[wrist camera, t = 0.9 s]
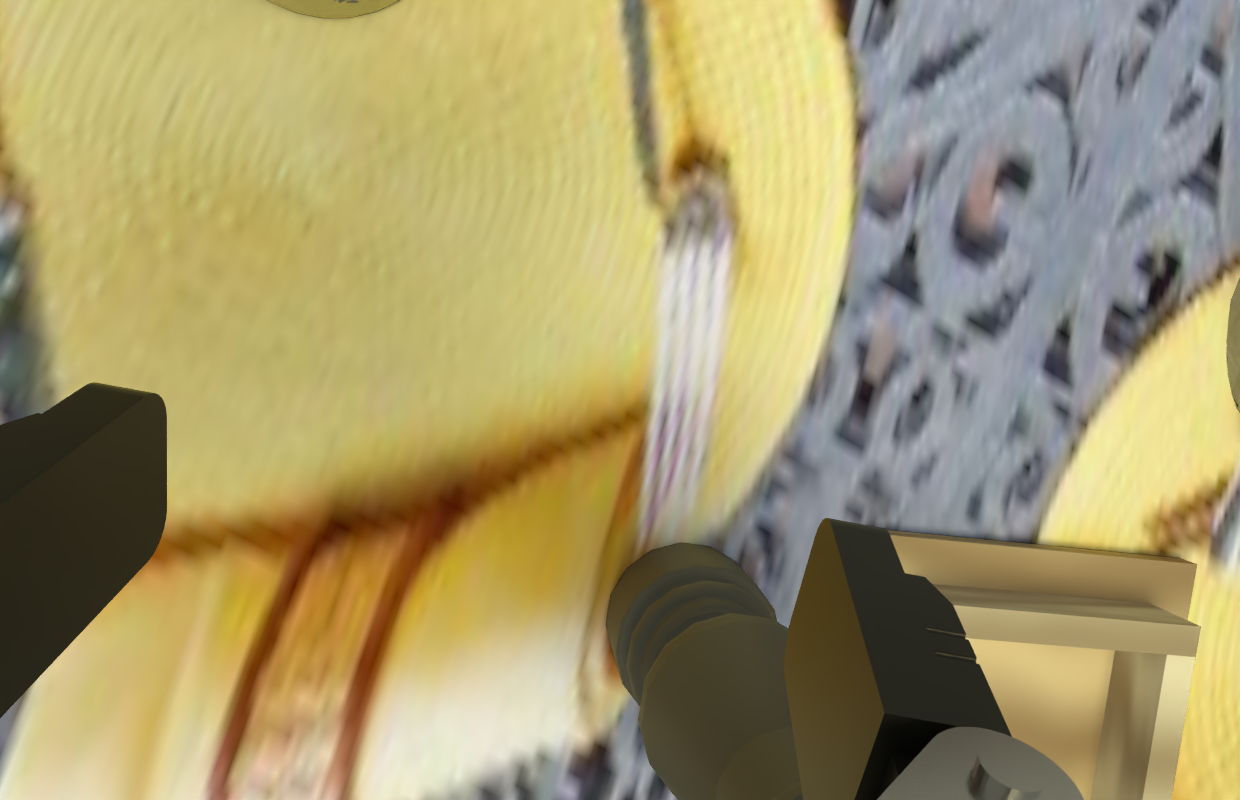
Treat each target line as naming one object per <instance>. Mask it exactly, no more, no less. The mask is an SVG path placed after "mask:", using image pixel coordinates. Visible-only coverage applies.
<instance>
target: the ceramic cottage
mask: <svg viewBox="0 0 1240 800" xmlns="http://www.w3.org/2000/svg"><path fill="white" fill-rule="evenodd" d="M1226 355H1227V357H1228V360H1227V368H1228V377H1229V382H1230V387H1231V391H1232V396H1233V398H1234V399H1235V401H1236V403H1237V404H1238V407H1237V409H1238V411H1239V412H1240V279H1239V281H1238V284H1237V286H1236V289H1235V291H1234V294H1233V297H1232V299H1231V304H1230V312H1229V321H1228V332H1227V354H1226Z"/></svg>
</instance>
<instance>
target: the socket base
mask: <svg viewBox="0 0 1240 800" xmlns="http://www.w3.org/2000/svg"><path fill="white" fill-rule="evenodd" d="M887 531H888V532H889V534H890V536H891V539H892V541H893V544H894V547H895V549H896V552H897V554H898V557H899V559H900V562H901V565H902V567H903V570H904V572H905V573H907V574H912V575H918V576H923V577H926V578H927V579H928V580H929V581H930V582H931V583H932V584H933V585H934V586H935V587H936V588H937V589H938V590H939V591H940V592H941V593H942V594H943V595H944V596H945V597H946V598H947V599H948V600H949V601H950V602H951V603H952V604H953V606H954V608H955V610H956V612H957V615H958V617H959V619H960V621H961V624H962V626H963V628H964V630H965V632H966V637H965V639H968V640H969V641H970V644H971V646H972V648H973V650H974V653H975V655H976V657H977V659H976V664H980V666H981V668H982V671H983V673H984V675H985V677H986V679H987V682H988V684H989V686H990V688H991V691H992V693H993V695H994V697H995V700H996V702H997V704H998V706H999V709H1000V711H1001V713H1002V715H1003V718H1004V720H1005V722H1006V724H1007V726H1008V729H1009V731H1010V733H1011V735H1012V737H1013V738H1016V739H1018V740H1020V741H1022V742H1024V743H1026V744H1028V745H1030V746H1032V747H1033V748H1035V749H1036V750H1038V751H1039V752H1041V753H1043V754H1044V755H1045V756H1047V757H1048V758H1049V759H1051V760H1052V761H1053V762H1054V763H1056V764H1057V765H1058V766H1059V767H1060V768H1061V769H1062V770H1063V771H1064V772H1065V773H1066V774H1067V775H1068V776H1069V777H1070V779H1071V780H1072V781H1073V782H1074V783H1075V785H1076V786H1077V788H1078V789H1079V791H1080V792H1081V794H1082V797H1083V799H1084V800H1171V798H1172V792H1173V786H1174V780H1175V774H1176V769H1177V763H1178V757H1179V751H1180V745H1181V739H1182V734H1183V728H1184V722H1185V716H1186V710H1187V704H1188V699H1189V693H1190V687H1191V681H1192V675H1193V669H1194V664H1195V658H1196V652H1197V646H1198V640H1199V634H1200V629H1201V626H1198V625H1196V624H1194V623H1192V622H1190V621H1187V620H1188V614H1189V609H1190V603H1191V597H1192V591H1193V585H1194V579H1195V573H1196V567H1197V564H1194V563H1192V562H1189V561H1186V560H1184V559H1181V558H1172V557H1162V556H1151V555H1141V554H1130V553H1120V552H1110V551H1099V550H1089V549H1079V548H1068V547H1058V546H1047V545H1037V544H1027V543H1016V542H1006V541H995V540H985V539H975V538H964V537H954V536H944V535H933V534H923V533H912V532H902V531H892V530H887Z"/></svg>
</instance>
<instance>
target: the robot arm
mask: <svg viewBox="0 0 1240 800" xmlns="http://www.w3.org/2000/svg"><path fill="white" fill-rule="evenodd" d="M268 1H270V2H272V3H274V4H277V5H279V6H282V7H284V8H286V9H289V10H291V11H293V12H296V13H301V14H306V15H311V16H316V17H322V18H344V17H355V16H359V15H363V14H367V13H371V12H376V11H379V10H381V9H383V8H385V7H387V6H389V5H391V4H393V3H395V2H397V1H399V0H268ZM166 514H167V414H166V407H165V404H164V401H163V399H162V398H161V397H160V396H159V395H158V394H155V393H150V392H144V391H139V390H133V389H128V388H122V387H117V386H111V385H106V384H100V383H89V384H87V385H86V386H84V387H82V388H81V389H79V390H78V391H76V392H75V393H73V394H72V395H70V396H69V397H67V398H66V399H64V400H63V401H61V402H60V403H58V404H56V405H55V406H53V407H52V408H50V409H49V410H47V411H46V412H44V413H43V414H39V413H37V414H34V415H30V416H27V417H24V418H21V419H18V420H15V421H11V422H8V423H5V424H2V425H0V718H1V717H2V716H3V715H4V714H5V713H6V711H7V710H8V709H9V708H10V707H11V706H12V705H13V704H14V703H15V702H16V701H17V700H18V699H19V698H20V697H21V696H22V695H23V693H24V692H25V691H26V690H27V689H28V688H29V687H30V686H31V685H32V684H33V683H34V682H35V681H36V680H37V679H38V678H39V676H40V675H41V674H42V673H43V672H44V671H45V670H46V669H47V668H48V667H49V666H50V665H51V664H52V663H53V662H54V661H55V659H56V658H57V657H58V656H59V655H60V654H61V653H62V652H63V651H64V650H65V649H66V648H67V647H68V646H69V645H70V644H71V642H72V641H73V640H74V639H75V638H76V637H77V636H78V635H79V634H80V633H81V632H82V631H83V630H84V629H85V628H86V627H87V626H88V624H89V623H90V622H91V621H92V620H93V619H94V618H95V617H96V616H97V615H98V614H99V613H100V612H101V611H102V610H103V609H104V607H105V606H106V605H107V604H108V603H109V602H110V601H111V600H112V599H113V598H114V597H115V596H116V595H117V594H118V593H119V592H120V590H121V589H122V588H123V587H124V586H125V585H126V584H127V583H128V582H129V581H130V580H131V579H132V578H133V577H134V576H135V575H136V573H137V572H138V571H139V570H140V569H141V568H142V567H143V566H144V565H145V564H146V563H147V562H148V561H149V559H150V558H151V557H152V555H153V554H154V552H155V550H156V548H157V546H158V544H159V542H160V539H161V536H162V533H163V530H164V526H165V521H166ZM965 637H966V632H965V630H964V628H963V626H962V624H961V621H960V619H959V617H958V615H957V612H956V610H955V608H954V606H953V604H952V603H951V602H950V601H949V600H948V599H947V598H946V597H945V596H944V595H943V594H942V593H941V592H940V591H939V590H938V589H937V588H936V587H935V586H934V585H933V584H932V583H931V582H930V581H929V580H928V579H927V578H926V577H923V576H918V575H912V574H907V573H905V572H904V570H903V567H902V565H901V562H900V559H899V557H898V554H897V552H896V549H895V547H894V544H893V541H892V539H891V536H890V534H889V532H888V531H887V530H886V529H884V528H879V527H873V526H868V525H862V524H857V523H851V522H846V521H840V520H835V519H829V518H825V519H824V520H823V521H822V522H821V524H820V526H819V528H818V530H817V533H816V536H815V539H814V542H813V546H812V549H811V553H810V556H809V559H808V563H807V566H806V570H805V573H804V577H803V580H802V584H801V587H800V591H799V594H798V597H797V601H796V604H795V608H794V611H793V615H792V618H791V622H790V625H789V630H788V634H787V640H786V647H785V658H784V675H785V683H786V690H787V696H788V703H789V709H790V716H791V723H792V729H793V736H794V742H795V749H796V755H797V762H798V769H799V775H800V782H801V788H802V795H803V800H1084V799H1083V797H1082V794H1081V792H1080V791H1079V789H1078V788H1077V786H1076V785H1075V783H1074V782H1073V781H1072V780H1071V779H1070V777H1069V776H1068V775H1067V774H1066V773H1065V772H1064V771H1063V770H1062V769H1061V768H1060V767H1059V766H1058V765H1057V764H1056V763H1054V762H1053V761H1052V760H1051V759H1049V758H1048V757H1047V756H1045V755H1044V754H1043V753H1041V752H1039V751H1038V750H1036V749H1035V748H1033V747H1032V746H1030V745H1028V744H1026V743H1024V742H1022V741H1020V740H1018V739H1016V738H1013V737H1012V735H1011V733H1010V731H1009V729H1008V726H1007V724H1006V722H1005V720H1004V718H1003V715H1002V713H1001V711H1000V709H999V706H998V704H997V702H996V700H995V697H994V695H993V693H992V691H991V688H990V686H989V684H988V682H987V679H986V677H985V675H984V673H983V671H982V668H981V666H980V664H976V659H977V657H976V655H975V653H974V650H973V648H972V646H971V644H970V641H969V640H968V639H965Z"/></svg>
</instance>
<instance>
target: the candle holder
mask: <svg viewBox="0 0 1240 800" xmlns="http://www.w3.org/2000/svg"><path fill="white" fill-rule="evenodd" d="M606 628H607V632H608V636H609V640H610V644H611V648H612V652H613V656H614V659H615V662H616V665H617V668H618V671H619V674H620V677H621V680H622V683H623V685H624V686H625V688H626V689H627V690H628V692H629V693H630V694H631V695H632V697H633V698H634V699H635V701H636V702H637V703H638V705H639V706H640V711H639V717H638V721H639V725H640V729H641V733H642V737H643V741H644V745H645V749H646V753H647V757H648V760H649V763H650V765H651V766H652V768H653V769H654V770H655V772H656V773H657V774H658V775H659V777H660V778H661V779H662V781H663V782H664V783H665V785H666V786H667V787H668V788H669V790H670V791H671V792H672V794H673V795H674V796H675V797H676V798H677V799H678V800H803V795H802V788H801V782H800V775H799V769H798V762H797V755H796V749H795V742H794V736H793V729H792V723H791V716H790V709H789V703H788V696H787V690H786V683H785V675H784V658H785V647H786V640H787V634H788V630H789V629H788V628H786V627H785V626H783V625H781V624H779V623H778V622H777V619H776V615H775V610H774V608H773V607H772V606H771V604H770V603H769V601H768V600H767V599H766V597H765V596H764V594H763V593H762V592H761V590H760V589H759V588H758V586H757V585H756V584H755V582H754V581H753V580H752V579H751V578H750V577H749V576H748V575H747V574H746V573H745V572H744V570H743V569H742V568H741V567H740V566H739V565H738V564H737V563H736V562H735V561H734V560H732V559H730V558H729V557H727V556H725V555H723V554H722V553H720V552H718V551H717V550H715V549H713V548H712V547H709V546H702V545H694V544H687V543H677V544H674V545H670V546H666V547H662V548H659V549H655V550H651V551H650V552H648V553H647V554H646V555H644V556H643V557H642V558H640V559H639V560H638V561H636V562H635V563H634V564H632V565H631V566H630V567H628V568H627V569H626V570H625V572H624V574H623V575H622V577H621V579H620V580H619V582H618V583H617V585H616V587H615V588H614V590H613V592H612V593H611V595H610V601H609V607H608V613H607V619H606Z"/></svg>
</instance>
